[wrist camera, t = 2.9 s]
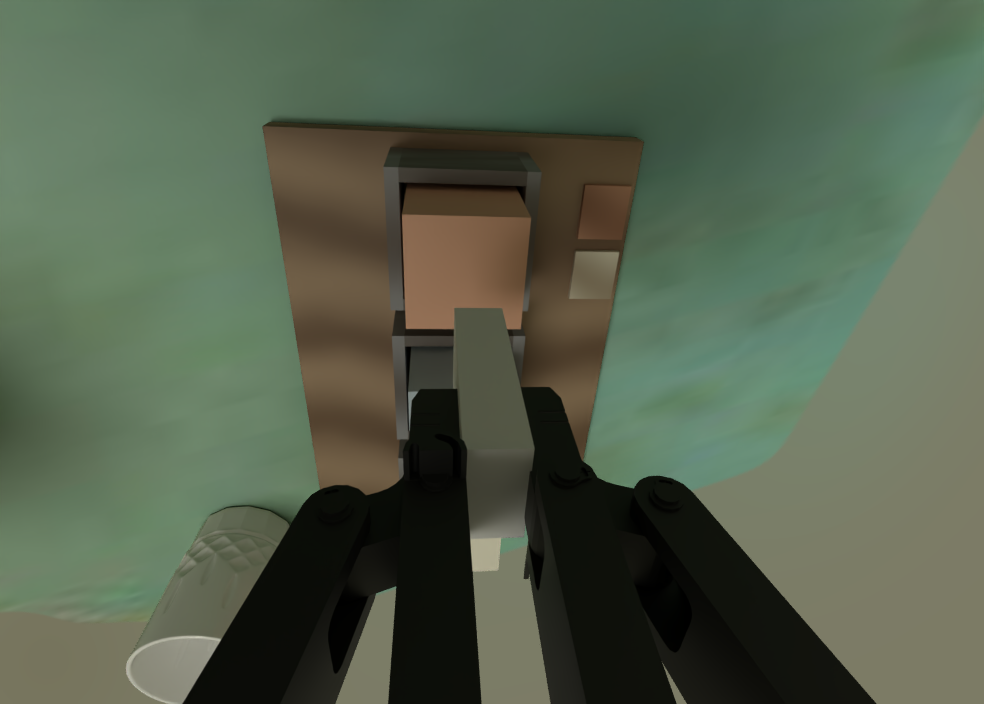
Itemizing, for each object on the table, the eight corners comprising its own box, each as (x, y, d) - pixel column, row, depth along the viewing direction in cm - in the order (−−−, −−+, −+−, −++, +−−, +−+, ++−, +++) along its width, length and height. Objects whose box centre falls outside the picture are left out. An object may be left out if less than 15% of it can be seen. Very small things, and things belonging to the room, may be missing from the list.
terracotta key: (407, 179, 24) (402, 214, 20) (514, 183, 24) (531, 217, 20) (410, 279, 26) (405, 328, 22) (507, 280, 27) (520, 329, 23)
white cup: (317, 514, 39) (284, 649, 31) (289, 578, 43) (253, 715, 34) (203, 487, 37) (134, 626, 29) (184, 558, 40) (117, 700, 32)
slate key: (412, 335, 28) (407, 391, 24) (503, 335, 29) (514, 390, 24) (414, 408, 31) (410, 470, 26) (497, 407, 31) (507, 468, 27)
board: (269, 121, 25) (234, 143, 21) (636, 137, 27) (674, 159, 23) (324, 486, 38) (310, 547, 33) (573, 479, 40) (590, 536, 35)
